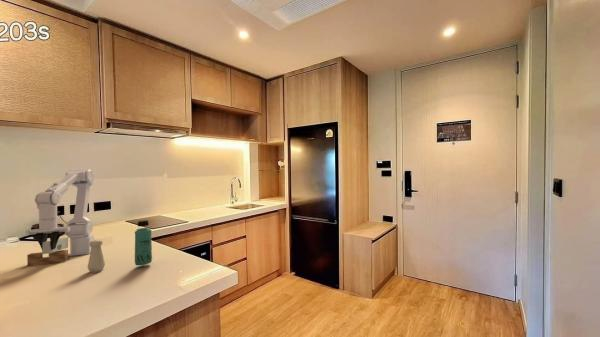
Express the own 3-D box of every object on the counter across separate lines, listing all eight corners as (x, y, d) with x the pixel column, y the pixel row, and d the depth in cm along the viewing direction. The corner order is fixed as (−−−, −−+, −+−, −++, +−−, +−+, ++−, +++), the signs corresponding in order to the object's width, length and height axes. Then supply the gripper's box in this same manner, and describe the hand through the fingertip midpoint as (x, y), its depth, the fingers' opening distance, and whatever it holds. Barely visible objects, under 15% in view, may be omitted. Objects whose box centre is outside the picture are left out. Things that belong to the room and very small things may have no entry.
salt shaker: (95, 274, 104) (94, 242, 104) (83, 273, 105) (83, 241, 105) (108, 268, 110) (108, 238, 110) (97, 268, 111) (97, 238, 111)
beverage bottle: (131, 267, 110) (130, 221, 110) (146, 262, 116) (146, 218, 116) (140, 270, 107) (139, 222, 107) (155, 264, 113) (154, 219, 113)
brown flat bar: (68, 259, 123) (68, 249, 123) (65, 261, 121) (65, 251, 121) (31, 264, 119) (31, 253, 119) (27, 265, 116) (27, 254, 116)
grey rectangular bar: (61, 248, 124) (61, 237, 124) (67, 247, 125) (68, 237, 125) (42, 254, 110) (42, 242, 110) (49, 253, 111) (49, 241, 111)
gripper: (20, 221, 106) (21, 254, 106) (63, 218, 111) (64, 249, 111) (31, 219, 113) (32, 249, 113) (72, 216, 118) (72, 245, 118)
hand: (48, 249), depth 112 cm, fingers closed on grey rectangular bar, 2 cm apart
